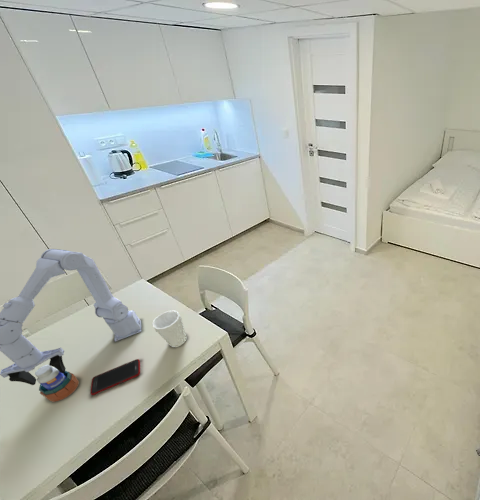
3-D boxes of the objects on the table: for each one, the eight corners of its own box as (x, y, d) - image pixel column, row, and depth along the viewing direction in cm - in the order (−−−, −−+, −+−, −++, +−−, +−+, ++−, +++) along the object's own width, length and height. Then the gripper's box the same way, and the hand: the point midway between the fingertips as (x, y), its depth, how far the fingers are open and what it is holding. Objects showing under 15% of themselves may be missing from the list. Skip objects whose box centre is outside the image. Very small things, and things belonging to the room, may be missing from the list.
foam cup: (160, 346, 116) (146, 324, 108) (179, 329, 123) (167, 307, 115) (177, 353, 113) (164, 331, 105) (195, 335, 120) (184, 314, 112)
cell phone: (93, 378, 104) (92, 377, 104) (140, 359, 110) (139, 358, 110) (91, 396, 99) (89, 395, 98) (140, 375, 105) (139, 373, 104)
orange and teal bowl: (80, 373, 106) (71, 364, 103) (77, 393, 100) (68, 384, 97) (50, 385, 102) (40, 377, 99) (45, 407, 96) (34, 398, 93)
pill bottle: (58, 395, 97) (40, 379, 92) (45, 392, 98) (27, 376, 93) (74, 380, 102) (57, 364, 96) (61, 377, 103) (44, 361, 97)
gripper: (-15, 374, 83) (17, 398, 91) (50, 349, 89) (75, 374, 97) (-8, 356, 88) (22, 380, 95) (53, 334, 94) (77, 359, 102)
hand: (49, 376), depth 97 cm, fingers open, 7 cm apart
